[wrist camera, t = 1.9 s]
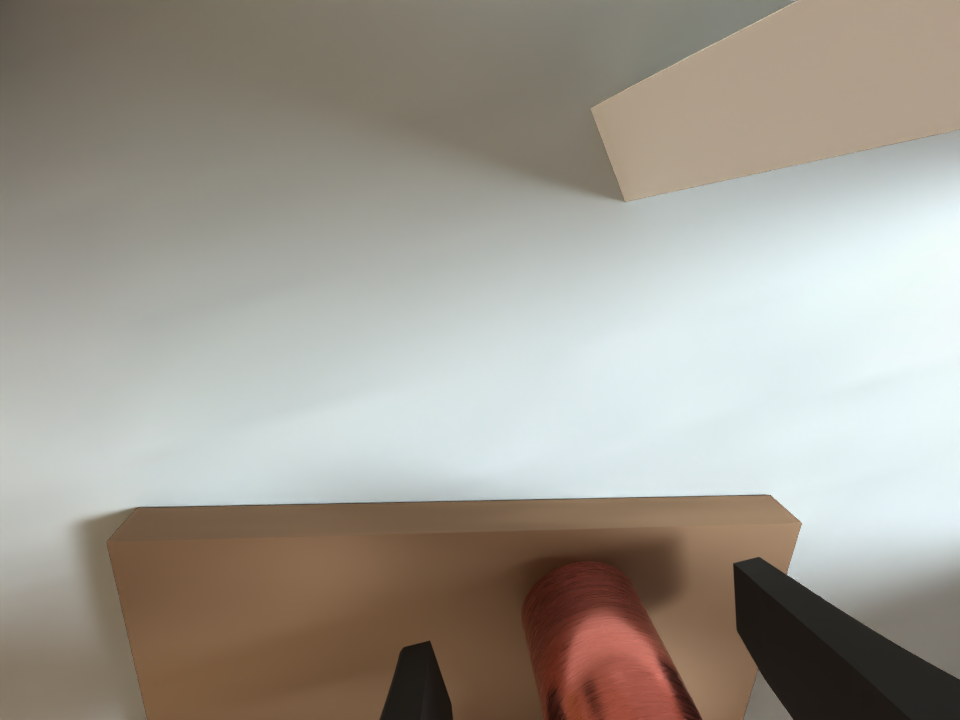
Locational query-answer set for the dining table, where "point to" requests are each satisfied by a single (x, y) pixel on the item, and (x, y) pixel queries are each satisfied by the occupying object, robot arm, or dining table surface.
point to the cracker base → (419, 598)
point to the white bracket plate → (789, 94)
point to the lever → (599, 650)
